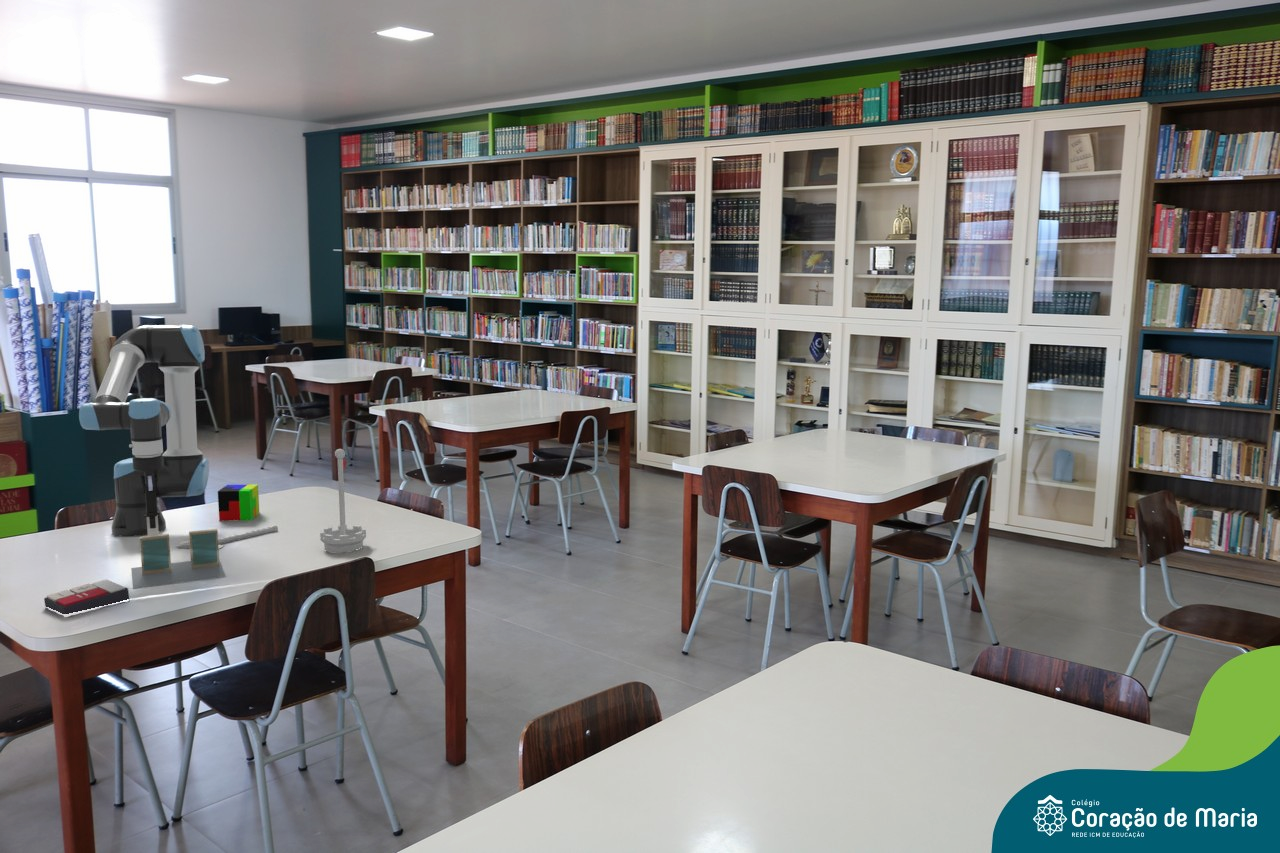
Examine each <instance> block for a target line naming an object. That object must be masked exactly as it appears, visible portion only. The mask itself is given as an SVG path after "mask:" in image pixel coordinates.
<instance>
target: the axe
mask: <svg viewBox="0 0 1280 853" xmlns="http://www.w3.org/2000/svg"><path fill="white" fill-rule="evenodd" d="M278 531H279V527H278V525H276V524H273V525H271V526H267V527H264V528H263V527H262V528H260V529H255V530H251V531H245V532H243V533H240V534H234V535H228V536H224V537H221V538H219V537H218V548H219V549H223V548H224V547H225V545H222V544H228V543H232V542H235V541H240V540H244V539H249V538H253V537H257V536H261V535H265V534H269V533H275V532H278ZM220 544H221V545H220ZM175 547H176V548H181V549H182V548H186V549H189V550H190V541H187V542H182V543H180V544H178V545H175Z"/></svg>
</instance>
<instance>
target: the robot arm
mask: <svg viewBox="0 0 1280 853" xmlns="http://www.w3.org/2000/svg"><path fill="white" fill-rule="evenodd" d="M205 355H206V351H205V344H204V339H203V336H202V334H201V331H200V330H199V329H198V327H197V326H195V325H192V324H191V325H190V324H159V325H157V324H154V325H153V324H144V325H140V326H136V327H134V328H131V329H129V330H128V331H127V332H125V333H123V334H122V335H121V336H120V337H119V338H117V339H116V340H115V341H114V343H113V345H112V346H111V348H110V351H109V359H110V362H109V364H108V367H107V369H106V371H105V373H104V377H103V378H102V381H101V384H100V386H99V389H98V390H97V394H96V396H95V399H94V401H93V402H88V403H83V404H81V405H80V408H79V412H78V418H79V424H80V426H81V427H82V429H84V430H88V431H89V430H91V431H106V430H130V441H131V443H129V445H128V447H129V448H130V449H131V448H132V449H131V451H132V452H131V453H132V456H133V457H129V458H126V459H122V460H119V461H118V462H116V463H115V464H114V466H113V482H114V493H115V505H116V510H115V513H114V516H113V521H112V524H111V534H112V535H114V536H117V537H144V536H153V535H160V534H159V533H160V532H162V531H164V530H166V529H167V524H166V519H165V517H164V514H163V513H162V510H161V508H160V506H159V500H158V498H175V497H178V498H179V497H181V498H182V497H186V498H188V497H195V496H200V495H203V494H204V493H205V491H206V489H207V486H208V481H209V475H210V464H209V460H208V459H207V458H204V456H203V455H204V454H203V452H202V451H201V450H200V449H198V440H197V439H198V436H197V433H198V432H197V413H196V412H197V410H196V409H197V408H196V406H197V404H196V384H195V382H196V381H195V374H196V372H197V371H198V370H199V369H200V363H203V362H204V361H205V358H206V356H205ZM145 363H158V369H160V371H161V372H163V375H164V376H163V378H164V379H163V380H164V396H165V397H164V398H165V402H164V401H161V400H159V399H157V398H154V397H148V398H147V397H143V398H136V399H135V398H134V399H131V400H130V401H129V402H126V401H127V398H128V396H129V393H130V391H131V387H132V386H133V384H134V381H135V377H136V375H137V372H138V369H140V368H141V367H142V366H143V365H144V364H145ZM164 426H166V427H165V428H166V450H165V451H164V446H163V436H162V427H164Z"/></svg>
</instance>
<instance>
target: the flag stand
mask: <svg viewBox="0 0 1280 853" xmlns="http://www.w3.org/2000/svg"><path fill="white" fill-rule="evenodd" d="M345 456H346V451H345V450H344V449H342V448H338V449H336V450H335V451H334V457H335V458H336V459H337V479H338V480H337V482H338V501H339V502H338V504H339V505H338V506H339V525H337V529H333V527H331V526H328V527H324V528H323V530H320V531H319V540H320V541H321V542H322V543H323V544H324V545H323V546H324V548H323V549H324V551H325V550H326V551H325V552H327V551H328V552H327V553H332V552H336V553H335V554H340V553H339V552H346V553H350V552H349V551H353V550H356V549H359V548H361V547H362V546H363V547H364V540H365V539H366V538H367V529H366V527H362V526H361V525H359V524H357V525H356V524H354V525H352V528H348V526H347V524H346V508H345V506H346V505H345V504H346V503H345V502H346V501H345V482H344V481H345V476H344V475H345V474H344V469H345V467H346V466H347V464H348V462H347V461H345V460H344V458H345ZM363 547H362V548H363ZM362 548H361V549H362ZM359 550H360V549H359ZM353 552H354V551H353Z"/></svg>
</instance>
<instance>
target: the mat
mask: <svg viewBox="0 0 1280 853" xmlns="http://www.w3.org/2000/svg"><path fill="white" fill-rule="evenodd" d="M130 570H131V581H132V582H131V583H132V590H138V589H145V588H152V587H160V586H169V585H175V584H184V583H192V582H198V581H206V580H207V581H208V580H214V579H215V580H216V579H222V578H226V577H227V576H226V573H225V570H224V568H223V565H222V563H221V560H220V559H219V565H216V566H208V567H200V568H191V560H187V561H179V562H171V571H168V572H160V573H152V574H144V575H142V566H137V567H131V569H130Z"/></svg>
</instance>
